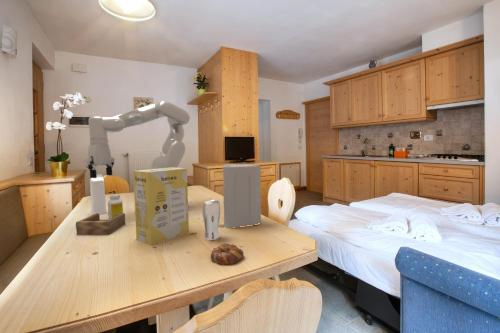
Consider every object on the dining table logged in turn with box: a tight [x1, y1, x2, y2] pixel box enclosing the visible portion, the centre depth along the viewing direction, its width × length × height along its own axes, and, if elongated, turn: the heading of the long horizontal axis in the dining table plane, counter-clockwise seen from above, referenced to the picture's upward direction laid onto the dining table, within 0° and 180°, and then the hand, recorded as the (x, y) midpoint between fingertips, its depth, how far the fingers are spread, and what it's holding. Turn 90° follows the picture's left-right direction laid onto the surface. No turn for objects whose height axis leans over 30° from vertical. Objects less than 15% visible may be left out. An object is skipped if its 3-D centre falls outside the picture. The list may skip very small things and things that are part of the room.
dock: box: [75, 212, 126, 236], centre depth 116 cm, size 14×14×6 cm
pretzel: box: [210, 243, 245, 265], centre depth 86 cm, size 12×11×4 cm
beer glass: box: [202, 199, 221, 241], centre depth 103 cm, size 7×7×15 cm
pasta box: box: [132, 167, 190, 246], centre depth 106 cm, size 18×10×28 cm, turn 143°
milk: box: [89, 173, 107, 215], centre depth 144 cm, size 6×6×22 cm
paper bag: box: [222, 163, 262, 229], centre depth 121 cm, size 19×15×28 cm
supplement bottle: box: [107, 193, 124, 220], centre depth 131 cm, size 7×7×13 cm
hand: (101, 176), depth 127 cm, fingers open, 9 cm apart
